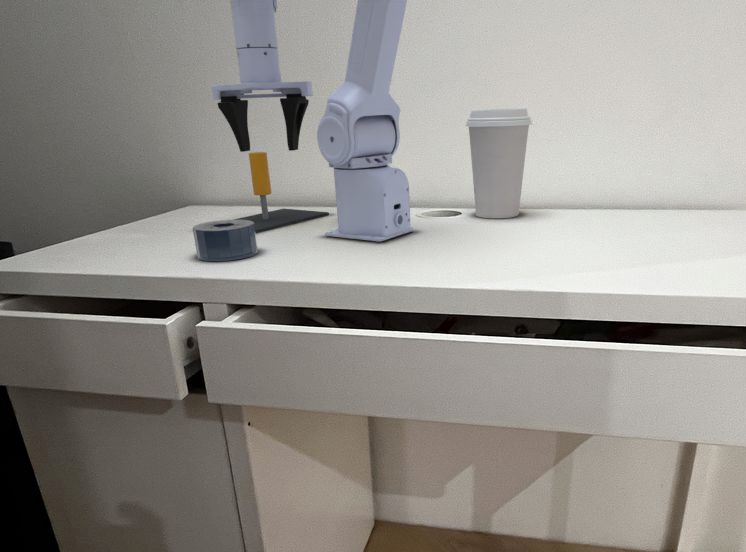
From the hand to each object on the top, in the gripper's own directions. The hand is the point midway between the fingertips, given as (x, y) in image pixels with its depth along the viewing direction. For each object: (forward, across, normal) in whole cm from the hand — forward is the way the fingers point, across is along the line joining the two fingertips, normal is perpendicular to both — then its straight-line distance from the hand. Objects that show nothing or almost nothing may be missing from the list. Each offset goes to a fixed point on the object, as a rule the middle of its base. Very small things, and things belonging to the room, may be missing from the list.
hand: (269, 150), depth 92 cm
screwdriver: (+10, -1, -1) cm, 10 cm away
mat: (+10, -1, -1) cm, 11 cm away
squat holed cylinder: (+10, +3, -22) cm, 25 cm away
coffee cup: (+11, +34, +5) cm, 36 cm away
